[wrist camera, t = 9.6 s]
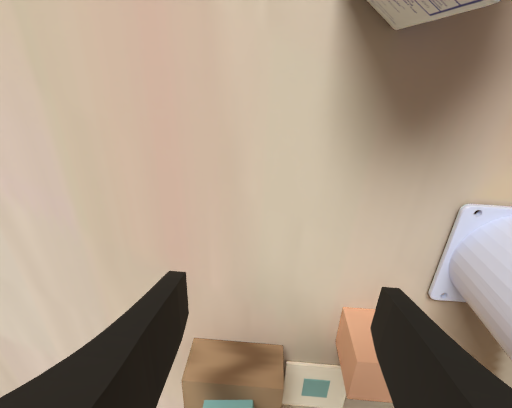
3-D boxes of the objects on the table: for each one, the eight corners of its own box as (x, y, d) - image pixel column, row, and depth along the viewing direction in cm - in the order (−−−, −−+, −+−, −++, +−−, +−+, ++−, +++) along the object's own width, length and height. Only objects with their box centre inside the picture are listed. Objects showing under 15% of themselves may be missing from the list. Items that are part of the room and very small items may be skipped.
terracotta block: (392, 310, 25) (418, 366, 20) (381, 344, 27) (403, 403, 22) (342, 306, 25) (357, 361, 20) (335, 341, 27) (347, 398, 22)
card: (352, 366, 28) (353, 370, 27) (341, 406, 30) (342, 410, 30) (286, 361, 28) (286, 364, 28) (281, 401, 31) (281, 405, 30)
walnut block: (282, 345, 27) (283, 389, 24) (276, 400, 31) (276, 446, 27) (194, 338, 27) (181, 380, 24) (197, 393, 31) (187, 437, 27)
